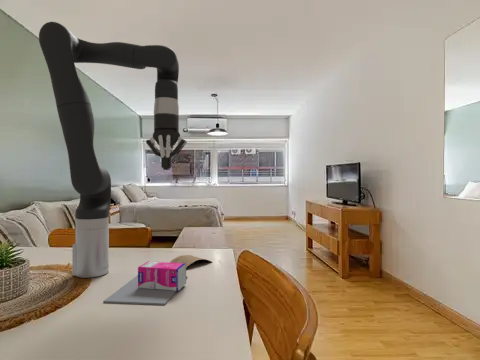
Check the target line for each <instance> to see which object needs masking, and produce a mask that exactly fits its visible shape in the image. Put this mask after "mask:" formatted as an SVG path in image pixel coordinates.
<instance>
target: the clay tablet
mask: <svg viewBox="0 0 480 360" xmlns="http://www.w3.org/2000/svg"><path fill="white" fill-rule="evenodd" d="M199 260H202V261H207V262H210V263H212V261H211V260H208V259H206V258H202V257H197V256H195V255H191V254H185V255H184V254H183V255H182V254H181V255H179V256H176V257H175V258H173V259H172V260H170V261H169V263H185V264H186V268H187V267H188V266H190V265H191V264H194V263H195V262H196V261H199Z"/></svg>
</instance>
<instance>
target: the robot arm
mask: <svg viewBox="0 0 480 360" xmlns="http://www.w3.org/2000/svg"><path fill="white" fill-rule="evenodd" d="M38 41H39V42H38V43H39V45H40V48H41V51H42V55H43V57H44V60H45V63H46V65H47V68H48V72H49V76H50V80H51V86H52V91H53V95H54V100H55V105H56V106H55V107H56V110H57V113H58V118H59V123H60V127H61V130H62V134H63V140H64V144H65V145H66V146H65V147H66V150H67V151H66V152H67V156H68V164H69V165H68V166H69V173H70V182H71V185H72V187H73V189H74V191H75V192H77V193H78V194H79V196H80V197H79V203H78V205H77V207H76V209H75V217H74V218H75V243H73V244H72V248H71V249H72V252H71V253H72V260H71V261H72V263H71V264H72V269H71V270H72V272H71V273H72V276H73V277H74V276H75V277H78V278H85V279H87V278H97V277H101V276H104V275H106V274H109V267H110V265H109V263H110V260H109V257H110V252H109V249H110V246H109V245H110V244H109V243H110V241H109V240H110V239H109V237H110V236H109V235H110V229H109V226H110V224H109V222H110V221H109V216H110V214H109V213H110V208H111V201H112V200H111V199H112V196H111V195H112V179H111V174H110V173H109V171H108V170H107V168H104V167H102V166H100V165H99V162H98V159H97V156H96V153H95V147H94V137H95V136H94V135H95V119H94V117H95V116H94V113H93V109H92V105H91V101H90V97H89V95H88V93H87V91H86V88H85V86H84V84H83V82H82V80H81V79H80V77H79V74H78V71H77V69H76V65H75V64H80V63H81V64H84V63H85V64H86V63H87V64H102V65H109V66H111V65H112V66H116V67H123V68H124V67H125V68H130V69H135V70H144V69H146V68H154V69H156V82H155V86H154V105H153V106H154V107H153V133H152V137H151V138H149V139H146V140H145V143H146V144H147V145H148V147H149V149H150V150H151V151H152V152H153V154H154V155H155V156H156V157H157V156H158V157H160V159H161V161H160V163H161V165H160V166H161V168H162V169H163V171H170V170H171V169H172V166H173V164H172V163H173V162H172V160H173V158H174V157H177V156H178V155H179V154H180V153H181V151H182V150H183V148H184V147H185V146H186V144H187V142H188V141H187V140H185V139H183V138H182V137H181V134H180V131H179V130H180V127H179V126H180V125H179V121H180V120H179V117H180V116H179V115H180V113H179V109H180V106H179V94H178V93H179V89H178V88H179V87H178V83H179V82H178V81H179V75H180V74H179V73H180V72H179V70H180V68H179V67H180V66H179V65H180V64H179V61H178V57H177V54H176V52H175V50H174V49H172V48H171V47H168V46H165V45H161V44H159V45H158V44H151V45H150V44H149V45H141V44H136V43H129V42H121V41H111V42H102V43H99V42H90V41H87V40H83V39H80V38H78V37H76V35H74V34H73V32H71V30H70V29H68V28H67V27H66V26H65V25H63V24H61V23H59V22H57V21H49V22H48V21H47V22H45V23H44V24H43V25H42V26H41V27H40V29H39V32H38ZM156 144H157V145H158V146H159V148H158V147H157V146H156ZM176 144H177V145H176ZM175 145H176V147H175V148H174V146H175Z"/></svg>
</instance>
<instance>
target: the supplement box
mask: <svg viewBox="0 0 480 360" xmlns="http://www.w3.org/2000/svg"><path fill="white" fill-rule="evenodd" d="M137 275H138V288H146V289H159V290H172V291H176V292H179V291H180V290H181V289H182V288H183V287H184V286H185V285H187V279H186V276H187V267H186V264H185V263H170V262H169V261H168V262H165V261H150V260H149V261H146V262H144V263H142V264H141V265H139V266H138V267H137Z"/></svg>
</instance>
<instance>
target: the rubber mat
mask: <svg viewBox="0 0 480 360" xmlns="http://www.w3.org/2000/svg"><path fill="white" fill-rule="evenodd" d="M187 278H188V275H186V280H187ZM176 292H177V291H172V290H159V289H146V288H138V274H137V275H136V276H135V277H133V278H132V279H131V280H129V281H128V282H127V283H125V284H124V285H123V286H122V287H120V288H119V289H117V290H116V291H115V292H113V293H112V294H110V295H109V296H108V297H107V298H105V300H103V302H102V303H104V304H106V303H108V304H127V305H129V304H130V305H131V304H133V305H150V306H151V305H153V306H154V305H155V306H156V305H157V306H158V305H159V306H167V304H168V302H169V301H170V300H171V298H172V297H173V296H174V295H175V294H176Z"/></svg>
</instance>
